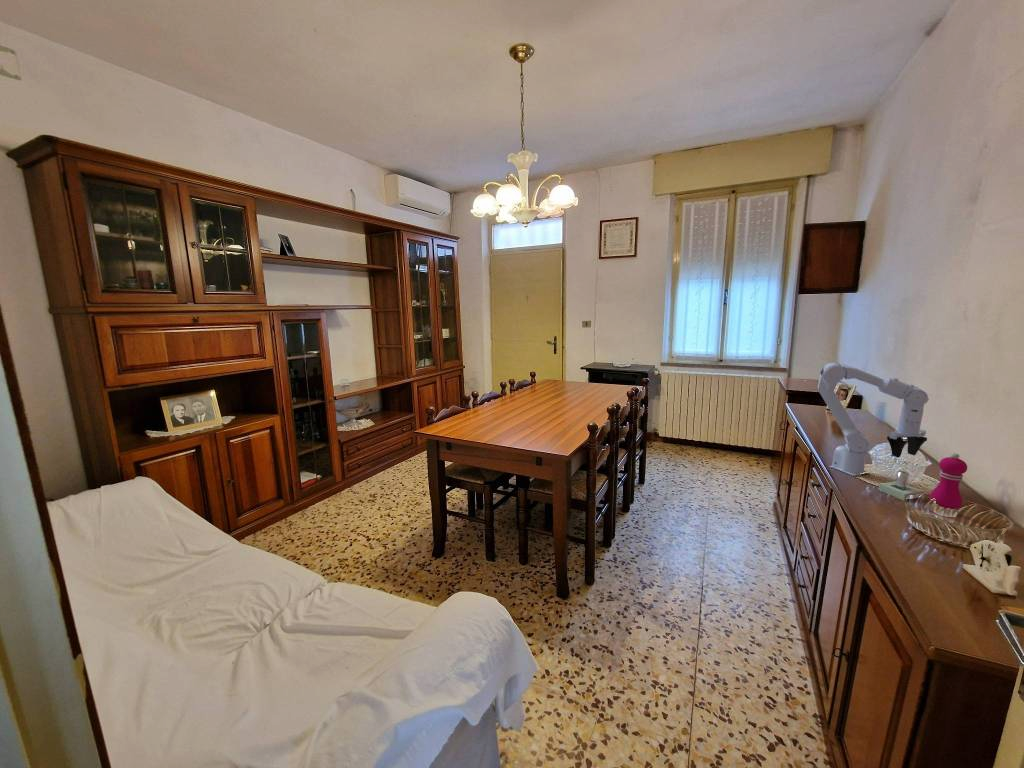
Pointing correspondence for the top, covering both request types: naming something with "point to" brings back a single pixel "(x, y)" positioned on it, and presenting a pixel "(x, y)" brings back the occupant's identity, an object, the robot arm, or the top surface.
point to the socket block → (898, 490)
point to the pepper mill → (949, 482)
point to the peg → (902, 480)
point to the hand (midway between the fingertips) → (903, 455)
